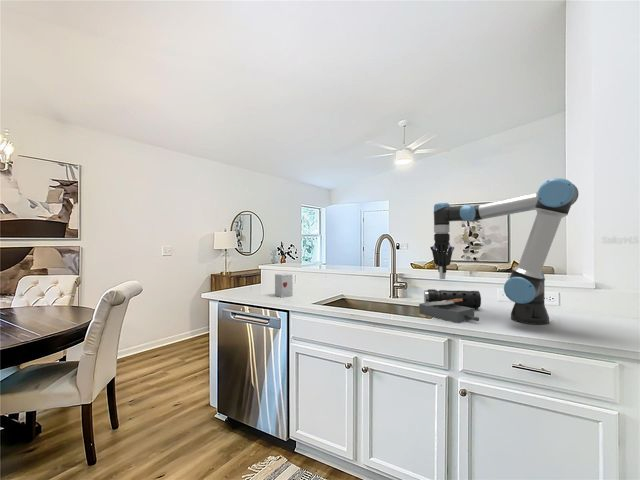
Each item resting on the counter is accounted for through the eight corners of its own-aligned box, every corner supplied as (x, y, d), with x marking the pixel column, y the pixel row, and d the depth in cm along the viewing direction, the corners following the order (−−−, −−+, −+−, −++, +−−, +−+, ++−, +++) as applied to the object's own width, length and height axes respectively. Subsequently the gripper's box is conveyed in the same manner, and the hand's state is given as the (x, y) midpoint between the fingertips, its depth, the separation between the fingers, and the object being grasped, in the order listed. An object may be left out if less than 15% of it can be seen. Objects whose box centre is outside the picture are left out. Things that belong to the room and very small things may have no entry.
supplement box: (281, 297, 214) (281, 275, 214) (274, 295, 221) (274, 274, 221) (293, 296, 220) (292, 274, 220) (285, 294, 227) (285, 272, 227)
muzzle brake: (481, 311, 170) (481, 292, 170) (425, 309, 176) (425, 290, 176) (476, 307, 179) (476, 289, 179) (423, 306, 185) (423, 288, 185)
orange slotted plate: (462, 300, 160) (462, 297, 160) (455, 302, 157) (454, 299, 157) (445, 302, 168) (445, 300, 169) (438, 304, 165) (437, 301, 165)
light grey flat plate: (454, 303, 156) (453, 300, 157) (446, 304, 153) (445, 301, 153) (437, 303, 165) (436, 301, 165) (429, 305, 161) (428, 302, 162)
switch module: (486, 321, 150) (486, 309, 150) (469, 326, 143) (469, 313, 143) (435, 310, 174) (435, 299, 174) (419, 313, 167) (419, 302, 167)
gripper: (457, 232, 163) (458, 279, 163) (435, 233, 174) (436, 277, 174) (448, 233, 159) (448, 280, 159) (426, 233, 170) (427, 278, 170)
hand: (442, 278), depth 167 cm, fingers closed
